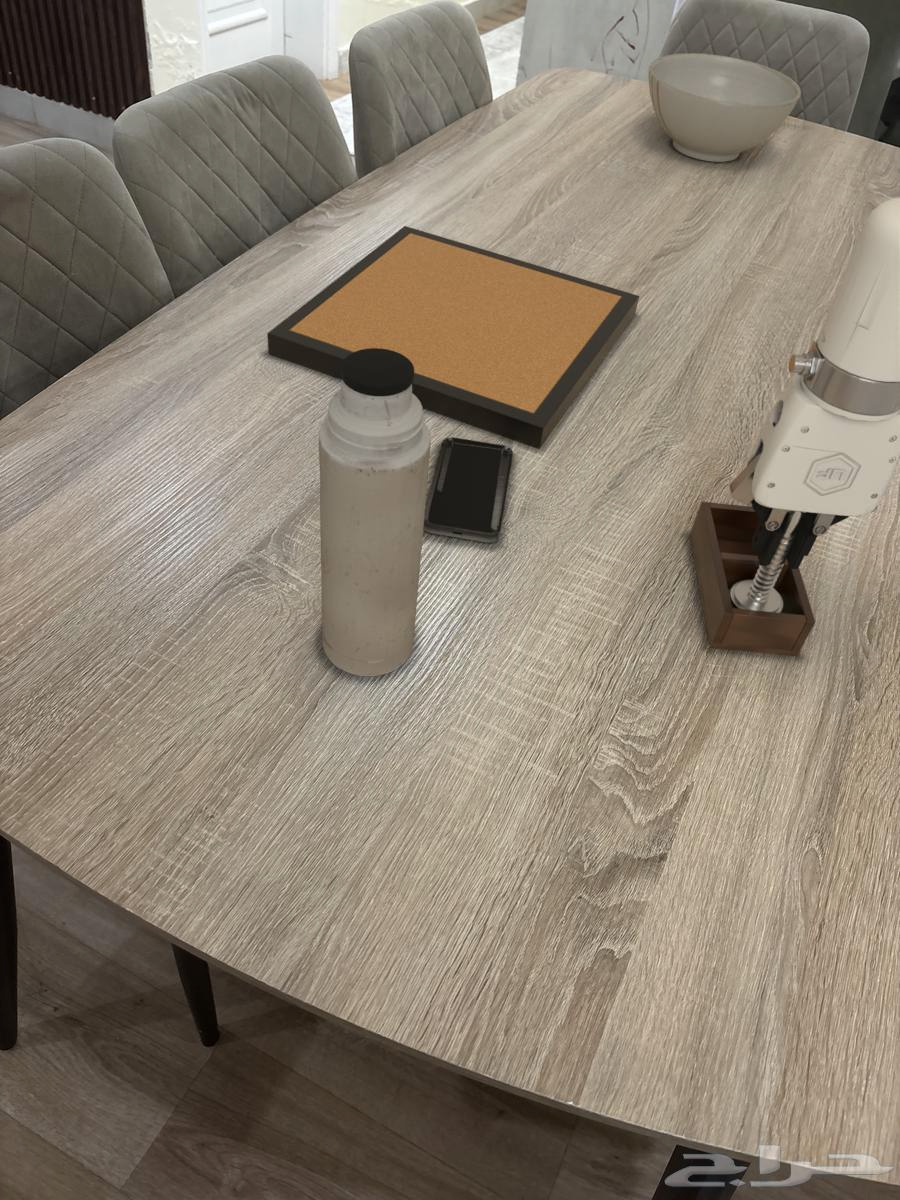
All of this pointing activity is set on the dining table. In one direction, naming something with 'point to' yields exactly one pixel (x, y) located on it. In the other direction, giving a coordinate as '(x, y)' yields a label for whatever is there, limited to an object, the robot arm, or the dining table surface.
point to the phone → (468, 490)
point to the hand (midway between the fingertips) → (775, 555)
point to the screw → (767, 574)
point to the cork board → (465, 330)
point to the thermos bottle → (372, 513)
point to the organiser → (731, 559)
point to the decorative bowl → (718, 103)
